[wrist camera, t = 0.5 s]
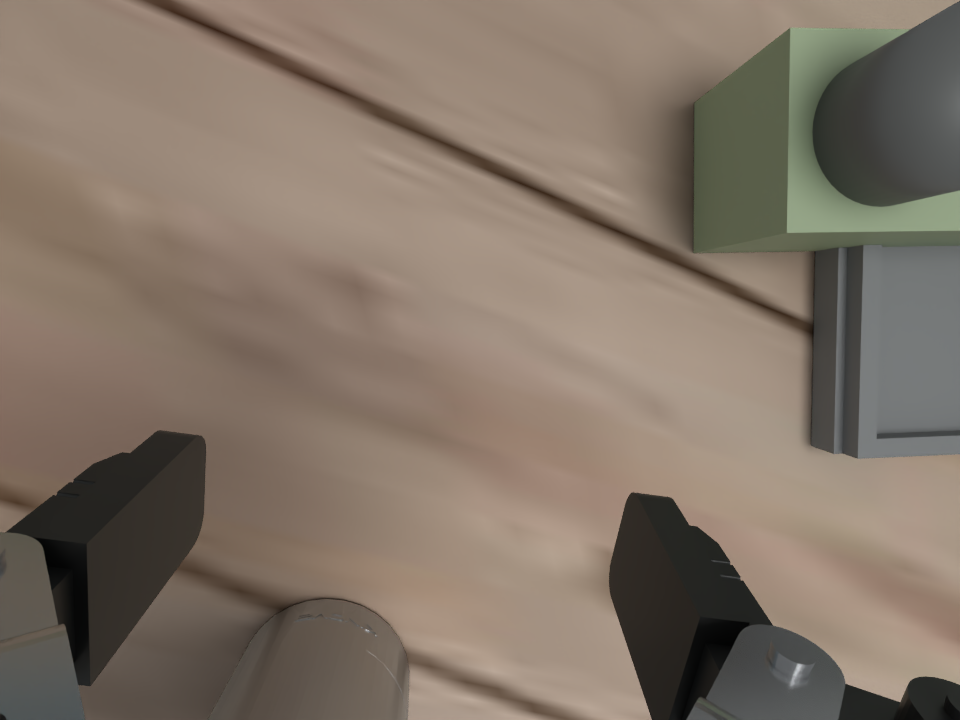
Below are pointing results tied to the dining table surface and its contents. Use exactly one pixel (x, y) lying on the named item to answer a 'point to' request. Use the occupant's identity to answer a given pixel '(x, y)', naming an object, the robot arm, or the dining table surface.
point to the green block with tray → (852, 216)
